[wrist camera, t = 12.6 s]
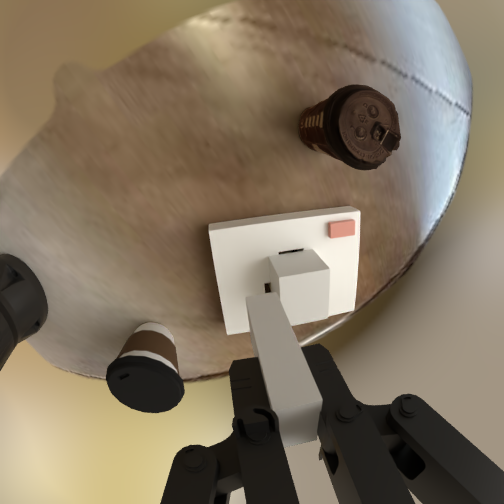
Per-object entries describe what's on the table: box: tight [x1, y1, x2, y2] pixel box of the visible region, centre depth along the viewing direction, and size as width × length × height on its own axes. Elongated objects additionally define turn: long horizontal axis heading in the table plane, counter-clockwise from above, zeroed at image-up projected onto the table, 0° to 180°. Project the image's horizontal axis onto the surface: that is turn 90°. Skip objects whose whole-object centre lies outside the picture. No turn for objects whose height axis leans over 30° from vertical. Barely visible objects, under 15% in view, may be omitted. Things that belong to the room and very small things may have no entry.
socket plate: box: [209, 206, 360, 335], centre depth 39 cm, size 16×20×4 cm
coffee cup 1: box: [106, 322, 185, 413], centre depth 37 cm, size 11×11×12 cm
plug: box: [268, 249, 330, 326], centre depth 36 cm, size 7×6×9 cm
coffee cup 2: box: [299, 85, 401, 170], centre depth 28 cm, size 9×8×13 cm
